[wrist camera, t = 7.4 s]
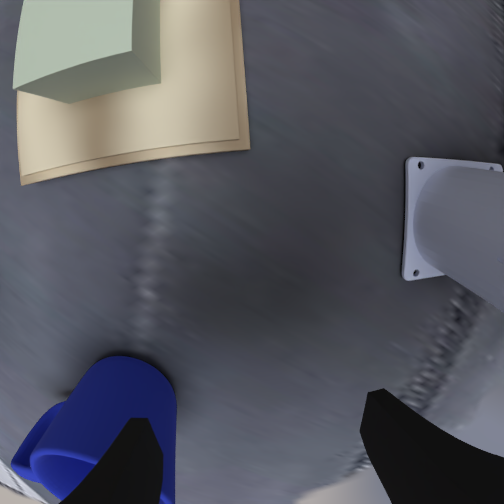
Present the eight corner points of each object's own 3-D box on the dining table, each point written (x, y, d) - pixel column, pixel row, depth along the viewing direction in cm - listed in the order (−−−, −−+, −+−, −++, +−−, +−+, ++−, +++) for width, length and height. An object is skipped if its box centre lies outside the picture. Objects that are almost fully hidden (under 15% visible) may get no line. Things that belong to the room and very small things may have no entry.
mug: (31, 354, 19) (-31, 438, 10) (161, 330, 19) (123, 453, 10) (79, 427, 22) (46, 512, 12) (203, 416, 22) (198, 528, 12)
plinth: (233, -41, 13) (234, -62, 10) (247, 150, 16) (251, 148, 14) (43, 3, 12) (25, -9, 10) (38, 182, 16) (16, 186, 13)
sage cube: (160, -1, 11) (137, -52, 7) (161, 83, 13) (131, 50, 8) (72, 22, 11) (27, -13, 6) (68, 104, 13) (12, 89, 8)
